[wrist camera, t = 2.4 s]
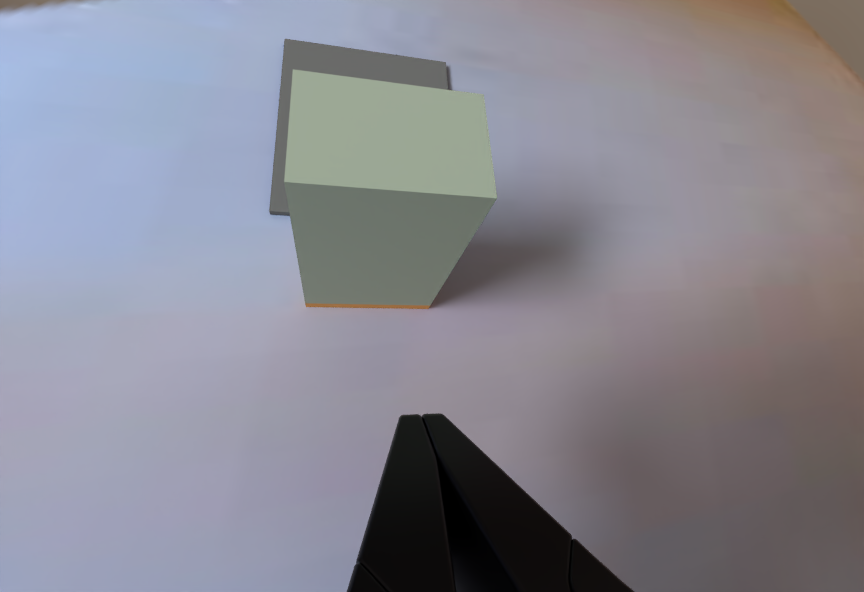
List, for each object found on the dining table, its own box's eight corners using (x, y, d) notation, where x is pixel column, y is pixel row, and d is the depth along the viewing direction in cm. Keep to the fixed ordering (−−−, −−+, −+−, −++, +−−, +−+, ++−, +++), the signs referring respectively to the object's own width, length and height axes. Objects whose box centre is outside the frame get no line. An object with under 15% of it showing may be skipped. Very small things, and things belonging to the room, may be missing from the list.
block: (428, 308, 22) (497, 198, 13) (305, 306, 20) (284, 181, 11) (424, 239, 23) (483, 94, 14) (309, 233, 22) (292, 69, 13)
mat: (458, 225, 24) (460, 222, 24) (270, 214, 22) (269, 211, 21) (444, 66, 28) (445, 62, 28) (285, 43, 26) (284, 38, 26)
